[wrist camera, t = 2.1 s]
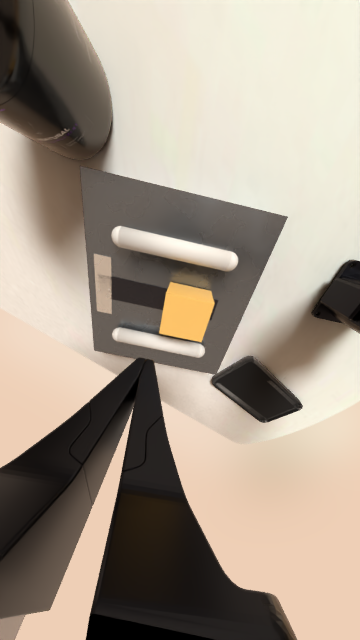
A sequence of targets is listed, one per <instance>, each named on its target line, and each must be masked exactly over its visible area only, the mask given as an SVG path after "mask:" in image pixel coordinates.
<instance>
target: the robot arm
mask: <svg viewBox="0 0 360 640" xmlns="http://www.w3.org/2000/svg"><path fill="white" fill-rule="evenodd" d="M351 264H353V265H352V266H351V267H350V265H351ZM317 312H319V313H317ZM316 313H317V314H316ZM312 315H313V316H314V317H317V318H321V319H326V320H330V321H335V322H339V323H344V324H346V325H347V326H349V327H350V328H352V329H353V330H355V331H356V332H358V333H359V334H360V261H356V260H349V261H347V262H346V263H345V265H344V266H343V268H342V269H341V270H340V272H339V273H338V275H337V276H336V278H335V279H334V281H333V282H332V284H331V285H330V286H329V288H328V289H327V291H326V292H325V294H324V295H323V297H322V298H321V299H320V301H319V302H318V304H317V305H316V307H315V308H314V310H313V311H312ZM133 407H134V408H133ZM132 409H133V413H132V419H131V424H130V429H129V435H128V440H127V445H126V451H125V456H124V461H123V467H122V473H121V478H120V483H119V488H118V493H117V498H116V502H115V506H114V511H113V515H112V519H111V524H110V528H109V533H108V537H107V542H106V546H105V551H104V555H103V560H102V564H101V569H100V573H99V578H98V582H97V586H96V591H95V595H94V600H93V604H92V608H91V613H90V617H89V623H88V630H87V636H86V640H297V638H296V636H295V634H294V632H293V630H292V628H291V626H290V623H289V621H288V619H287V617H286V615H285V613H284V611H283V609H282V607H281V604H280V602H279V600H278V599H277V597H276V596H274V595H272V594H270V593H265V592H259V591H253V590H246V589H243V588H240V587H238V586H237V585H236V584H234V583H233V582H232V581H231V580H230V579H229V578H228V576H227V575H226V574H225V573H224V571H223V570H222V567H221V566H220V564H219V562H218V560H217V558H216V556H215V554H214V552H213V550H212V548H211V547H210V544H209V543H208V541H207V539H206V537H205V535H204V533H203V531H202V529H201V527H200V525H199V523H198V521H197V519H196V517H195V515H194V514H193V511H192V509H191V508H190V506H189V503H188V501H187V499H186V496H185V493H184V490H183V488H182V485H181V481H180V478H179V475H178V472H177V468H176V465H175V462H174V458H173V455H172V452H171V448H170V445H169V441H168V437H167V433H166V428H165V423H164V417H163V411H162V406H161V400H160V394H159V388H158V382H157V376H156V370H155V365H154V360H151V359H145V358H141V357H139V358H137V359H136V360H135V361H134V362H133V363H132V364H131V365H129V366H128V367H127V368H126V369H125V370H124V371H123V372H122V373H120V374H119V375H118V376H117V377H116V378H115V379H114V380H113V381H111V382H110V383H109V384H108V385H107V386H106V387H105V388H104V389H102V390H101V391H100V392H99V393H98V394H97V395H96V396H94V397H93V398H92V399H91V400H90V401H89V402H88V403H87V404H85V405H84V406H83V407H82V408H81V409H80V410H79V411H77V412H76V413H75V414H74V415H73V416H71V417H70V418H69V419H68V420H66V421H65V422H64V423H63V424H61V425H60V426H59V427H58V428H56V429H55V430H53V431H52V432H51V433H49V434H48V435H47V436H45V437H44V438H43V439H41V440H40V441H39V442H37V443H36V444H35V445H33V446H32V447H30V448H29V449H28V450H26V451H25V452H24V453H22V454H21V455H20V456H19V457H17V458H16V459H14V460H12V461H11V462H10V463H8V464H6V465H5V466H3V467H1V468H0V640H15V638H16V636H17V633H18V631H19V628H20V626H21V624H22V622H23V619H24V617H25V615H26V614H31V613H37V612H43V611H49V610H50V608H51V606H52V604H53V601H54V599H55V596H56V594H57V591H58V589H59V587H60V584H61V581H62V579H63V577H64V574H65V572H66V570H67V567H68V565H69V562H70V560H71V558H72V555H73V552H74V550H75V548H76V545H77V543H78V540H79V538H80V536H81V533H82V531H83V528H84V526H85V523H86V521H87V519H88V516H89V514H90V511H91V509H92V506H93V504H94V502H95V499H96V497H97V494H98V492H99V489H100V487H101V484H102V482H103V479H104V477H105V475H106V472H107V470H108V467H109V465H110V462H111V460H112V458H113V455H114V453H115V451H116V448H117V446H118V443H119V441H120V438H121V436H122V433H123V431H124V429H125V426H126V423H127V421H128V419H129V416H130V414H131V411H132Z"/></svg>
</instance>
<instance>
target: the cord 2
mask: <svg viewBox="0 0 360 640" xmlns="http://www.w3.org/2000/svg"><path fill="white" fill-rule="evenodd" d="M111 237H112V240H113V242H114V243H115V245H117V246H118V247H121V248H125V249H130V250H134V251H138V252H143V253H147V254H152V255H156V256H160V257H165V258H169V259H174V260H178V261H182V262H187V263H191V264H196V265H200V266H204V267H209V268H213V269H218V270H222V271H232V270H233V269H235V267H236V266H237V264H238V257H237V255H236V254H235V253H234V252H231V251H227V250H222V249H218V248H214V247H210V246H205V245H201V244H197V243H192V242H188V241H184V240H179V239H175V238H171V237H167V236H162V235H158V234H154V233H149V232H145V231H141V230H136V229H132V228H128V227H124V226H117V227H115V228H114V229H113V231H112V234H111Z"/></svg>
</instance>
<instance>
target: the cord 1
mask: <svg viewBox="0 0 360 640" xmlns="http://www.w3.org/2000/svg"><path fill="white" fill-rule="evenodd" d="M112 337H113V339H114V340H115V341H118V342H122V343H127V344H132V345H137V346H142V347H147V348H152V349H157V350H162V351H167V352H172V353H177V354H182V355H186V356H191V357H196V358H200V357H202V356H203V355H204V353H205V348H204V346H203V345H201V344H199V343H194V342H189V341H184V340H179V339H174V338H170V337H165V336H160V335H155V334H150V333H145V332H141V331H136V330H131V329H126V328H121V327H119V328H116V329H114V331H113V332H112Z"/></svg>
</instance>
